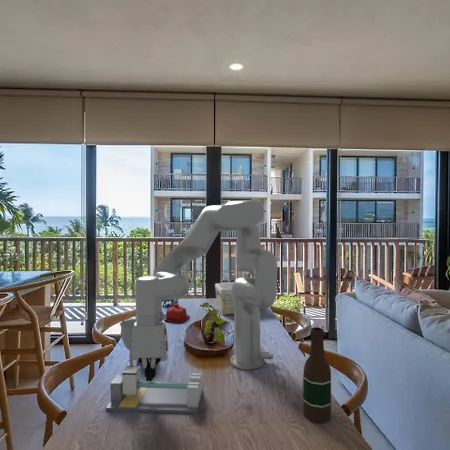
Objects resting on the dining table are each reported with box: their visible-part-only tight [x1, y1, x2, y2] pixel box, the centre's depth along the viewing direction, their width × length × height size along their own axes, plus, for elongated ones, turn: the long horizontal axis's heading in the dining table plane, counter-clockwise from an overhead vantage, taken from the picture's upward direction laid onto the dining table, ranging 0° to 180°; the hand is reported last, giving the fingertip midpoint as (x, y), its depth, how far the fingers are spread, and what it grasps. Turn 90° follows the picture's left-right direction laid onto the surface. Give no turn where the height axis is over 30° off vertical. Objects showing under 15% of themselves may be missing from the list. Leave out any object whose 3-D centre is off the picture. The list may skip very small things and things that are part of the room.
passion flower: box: [162, 299, 179, 307], centre depth 196 cm, size 11×11×12 cm
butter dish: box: [163, 302, 191, 323], centre depth 172 cm, size 12×12×8 cm
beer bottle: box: [302, 326, 332, 424], centre depth 90 cm, size 8×8×24 cm
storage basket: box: [214, 281, 234, 316], centre depth 187 cm, size 24×16×15 cm
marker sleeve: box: [121, 365, 141, 395], centre depth 99 cm, size 4×4×6 cm
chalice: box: [119, 318, 136, 366], centre depth 114 cm, size 7×7×18 cm
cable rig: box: [105, 372, 204, 414], centre depth 99 cm, size 26×12×6 cm, turn 86°
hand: (150, 379), depth 99 cm, fingers closed
